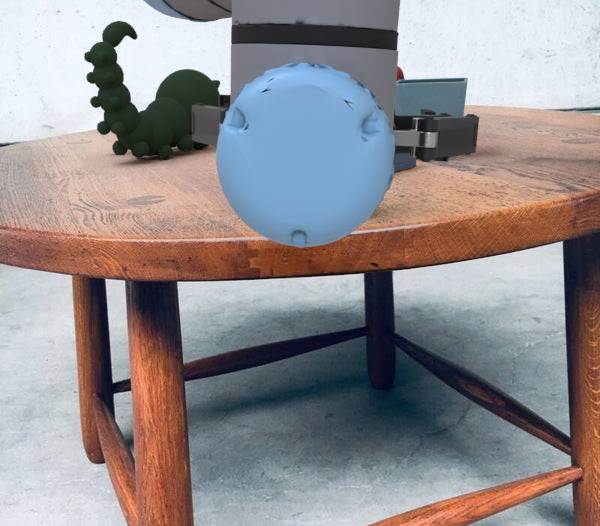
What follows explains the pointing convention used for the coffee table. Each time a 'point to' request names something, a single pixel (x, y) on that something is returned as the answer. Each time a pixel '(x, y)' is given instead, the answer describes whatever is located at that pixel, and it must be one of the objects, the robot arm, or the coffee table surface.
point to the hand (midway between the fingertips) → (337, 123)
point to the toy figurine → (158, 115)
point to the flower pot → (431, 96)
